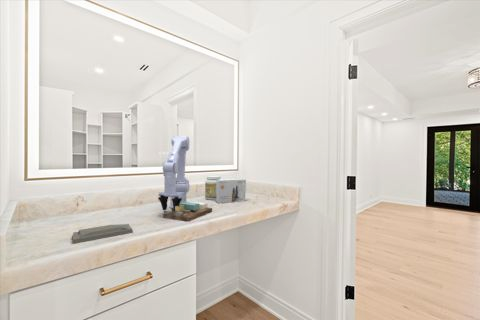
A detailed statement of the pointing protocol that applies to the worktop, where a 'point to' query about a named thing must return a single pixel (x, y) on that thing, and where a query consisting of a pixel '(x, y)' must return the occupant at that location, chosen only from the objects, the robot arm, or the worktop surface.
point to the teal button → (190, 205)
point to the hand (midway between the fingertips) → (170, 210)
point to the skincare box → (230, 190)
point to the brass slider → (180, 208)
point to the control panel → (186, 214)
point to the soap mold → (100, 232)
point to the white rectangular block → (201, 205)
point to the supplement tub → (211, 187)
